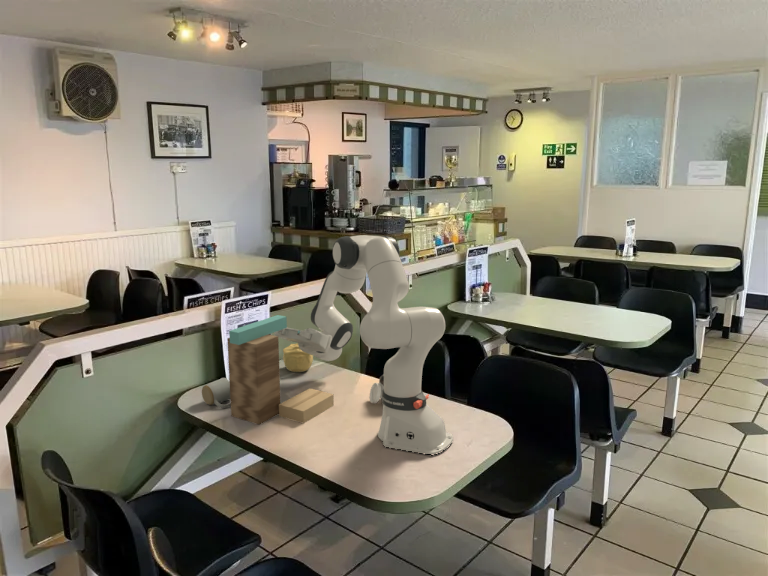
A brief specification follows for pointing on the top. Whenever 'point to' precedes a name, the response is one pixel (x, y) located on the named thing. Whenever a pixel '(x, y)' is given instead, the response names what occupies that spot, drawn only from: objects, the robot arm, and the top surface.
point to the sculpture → (296, 359)
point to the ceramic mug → (217, 392)
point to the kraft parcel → (306, 405)
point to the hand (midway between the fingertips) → (288, 330)
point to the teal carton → (257, 329)
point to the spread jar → (377, 390)
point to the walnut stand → (254, 379)
